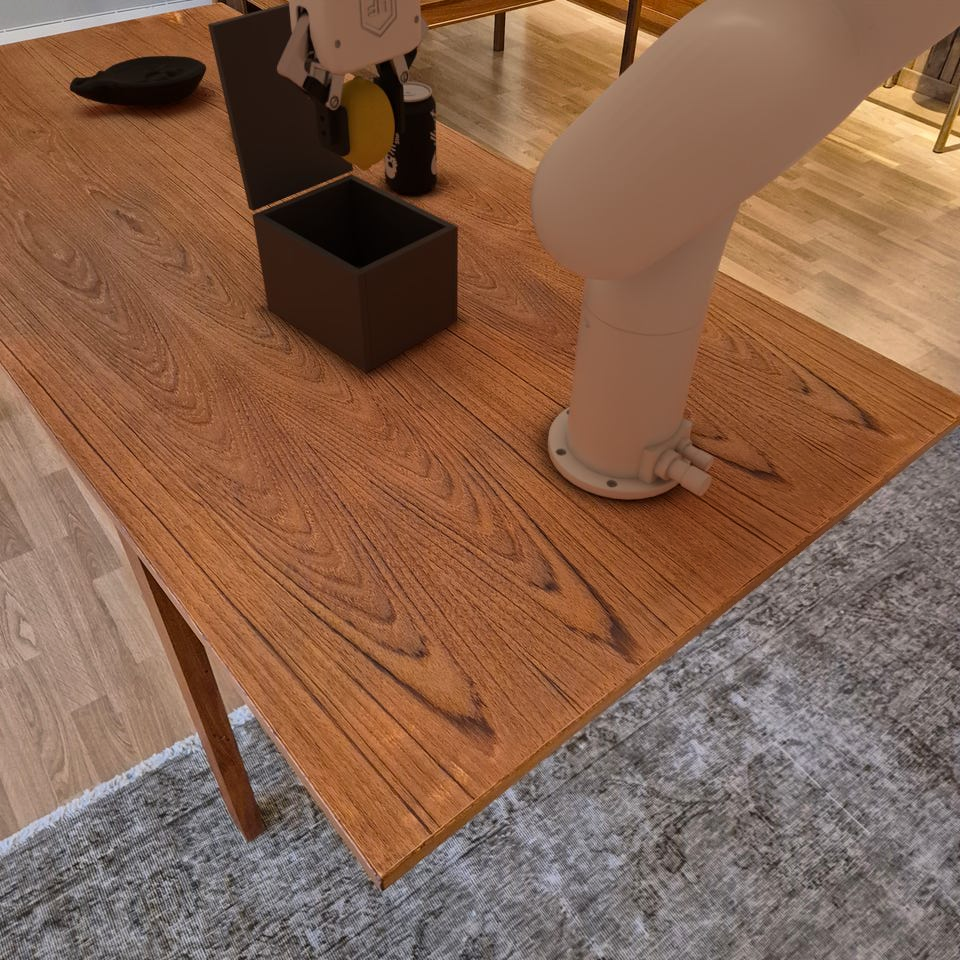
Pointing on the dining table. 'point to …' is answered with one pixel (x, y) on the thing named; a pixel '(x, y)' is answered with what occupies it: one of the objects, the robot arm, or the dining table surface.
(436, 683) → the dining table surface
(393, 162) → the beverage can
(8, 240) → the dining table surface
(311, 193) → the dark open storage box
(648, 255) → the robot arm
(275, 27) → the lid
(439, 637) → the dining table surface
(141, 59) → the oil lamp
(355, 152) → the lemon
